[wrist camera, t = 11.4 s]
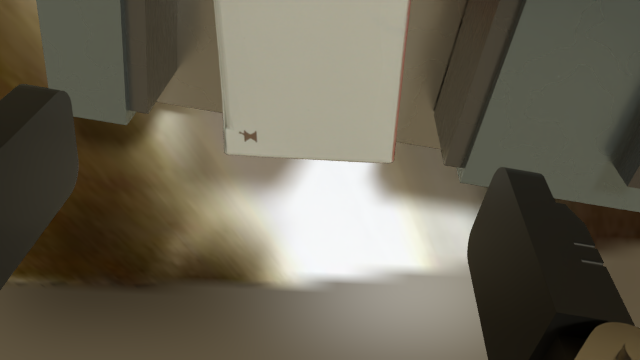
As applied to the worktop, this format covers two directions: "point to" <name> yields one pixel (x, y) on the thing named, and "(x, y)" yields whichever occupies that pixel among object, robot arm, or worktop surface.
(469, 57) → the sliding jaw
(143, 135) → the worktop surface
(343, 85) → the small box
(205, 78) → the vise base
